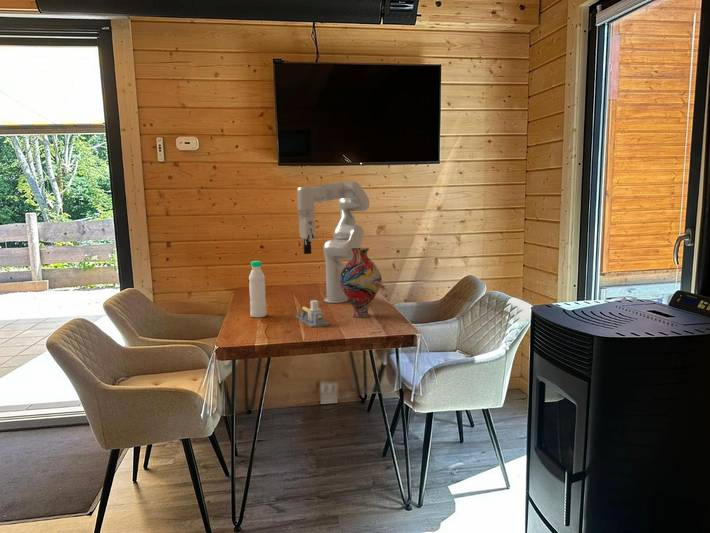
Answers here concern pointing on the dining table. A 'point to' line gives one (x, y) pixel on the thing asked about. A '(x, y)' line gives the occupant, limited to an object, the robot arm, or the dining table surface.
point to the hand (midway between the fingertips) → (307, 253)
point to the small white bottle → (313, 309)
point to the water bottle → (257, 290)
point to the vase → (360, 281)
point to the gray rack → (316, 318)
